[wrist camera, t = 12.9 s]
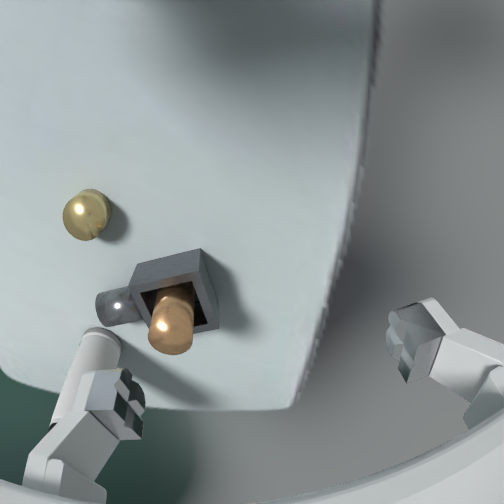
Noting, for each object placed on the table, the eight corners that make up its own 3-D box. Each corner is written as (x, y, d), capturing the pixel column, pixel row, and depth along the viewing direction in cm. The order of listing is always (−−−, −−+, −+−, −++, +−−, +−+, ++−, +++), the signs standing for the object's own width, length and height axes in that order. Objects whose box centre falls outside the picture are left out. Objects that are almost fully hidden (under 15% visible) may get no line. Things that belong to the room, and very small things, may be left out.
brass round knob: (67, 196, 31) (56, 204, 28) (102, 183, 31) (93, 190, 28) (82, 234, 33) (73, 245, 31) (117, 223, 33) (109, 234, 31)
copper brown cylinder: (155, 272, 37) (140, 326, 28) (189, 264, 37) (183, 318, 28) (167, 301, 39) (158, 357, 30) (200, 294, 39) (198, 350, 30)
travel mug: (74, 331, 40) (30, 444, 22) (108, 322, 39) (70, 447, 22) (95, 359, 43) (65, 469, 25) (129, 353, 42) (105, 472, 25)
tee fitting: (96, 274, 36) (83, 297, 31) (200, 248, 36) (198, 270, 31) (121, 322, 40) (113, 347, 35) (218, 302, 40) (219, 328, 35)
